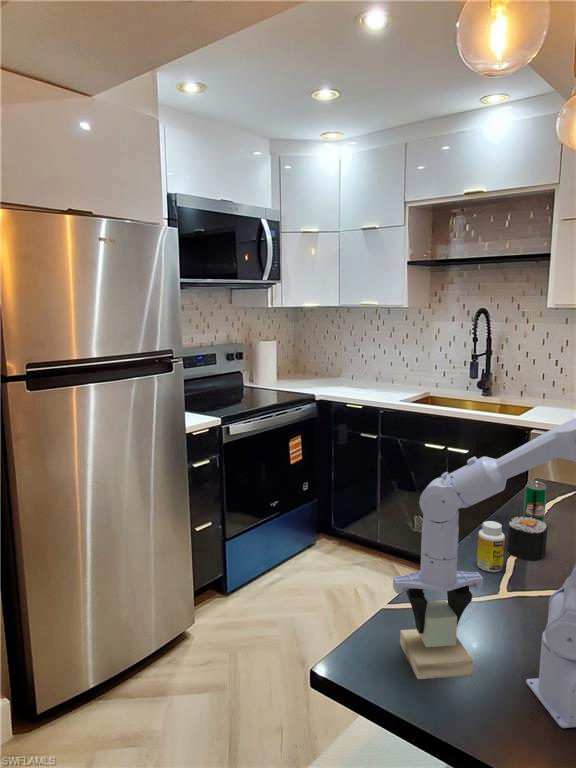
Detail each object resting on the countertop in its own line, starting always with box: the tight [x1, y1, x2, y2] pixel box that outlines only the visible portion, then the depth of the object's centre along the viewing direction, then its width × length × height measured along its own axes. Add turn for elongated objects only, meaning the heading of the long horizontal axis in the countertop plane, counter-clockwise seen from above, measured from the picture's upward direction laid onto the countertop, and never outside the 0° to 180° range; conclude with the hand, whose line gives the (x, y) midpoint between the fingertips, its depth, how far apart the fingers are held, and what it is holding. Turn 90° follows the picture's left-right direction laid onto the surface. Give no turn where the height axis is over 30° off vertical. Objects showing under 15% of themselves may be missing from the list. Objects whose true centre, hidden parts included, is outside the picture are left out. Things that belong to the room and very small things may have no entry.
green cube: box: [415, 599, 458, 647], centre depth 89 cm, size 5×5×5 cm
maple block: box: [399, 628, 474, 680], centre depth 90 cm, size 9×9×3 cm
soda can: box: [522, 480, 547, 523], centre depth 142 cm, size 5×5×12 cm
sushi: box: [507, 516, 548, 562], centre depth 127 cm, size 8×8×8 cm
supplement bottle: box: [476, 520, 506, 573], centre depth 120 cm, size 6×6×10 cm
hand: (435, 628), depth 89 cm, fingers closed on green cube, 5 cm apart
